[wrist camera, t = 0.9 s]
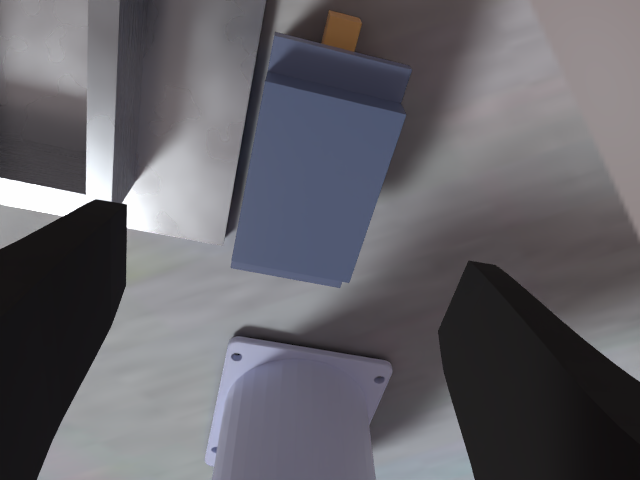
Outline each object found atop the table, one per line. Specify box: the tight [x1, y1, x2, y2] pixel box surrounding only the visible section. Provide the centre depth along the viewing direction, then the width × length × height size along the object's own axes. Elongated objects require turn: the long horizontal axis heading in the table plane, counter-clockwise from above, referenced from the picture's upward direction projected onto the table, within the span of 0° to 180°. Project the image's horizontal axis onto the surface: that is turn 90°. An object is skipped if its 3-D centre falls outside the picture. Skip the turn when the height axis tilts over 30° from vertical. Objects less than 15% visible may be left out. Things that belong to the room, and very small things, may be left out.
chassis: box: [0, 0, 267, 246], centre depth 17 cm, size 11×11×4 cm
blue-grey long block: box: [231, 10, 412, 288], centre depth 18 cm, size 9×4×4 cm, turn 166°
